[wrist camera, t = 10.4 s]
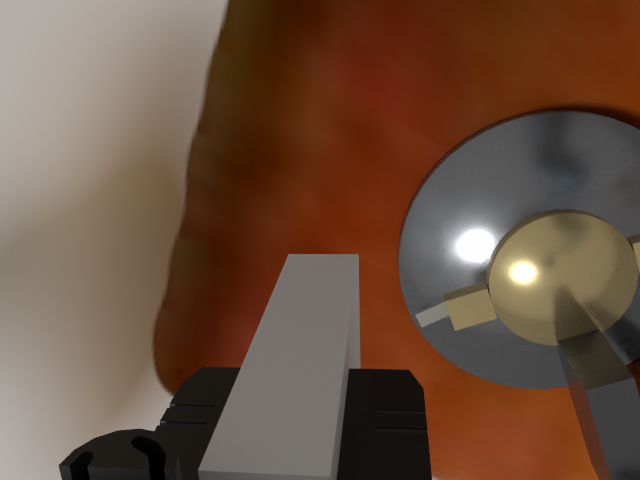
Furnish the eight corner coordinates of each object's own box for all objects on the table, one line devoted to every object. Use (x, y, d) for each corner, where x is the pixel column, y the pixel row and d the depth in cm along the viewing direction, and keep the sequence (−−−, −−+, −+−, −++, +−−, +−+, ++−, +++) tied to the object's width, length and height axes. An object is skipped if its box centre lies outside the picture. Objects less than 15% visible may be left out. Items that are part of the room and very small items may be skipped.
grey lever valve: (427, 249, 34) (440, 312, 27) (661, 173, 32) (749, 218, 24) (510, 482, 39) (541, 590, 32) (718, 433, 37) (806, 538, 29)
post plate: (633, 49, 33) (686, 54, 27) (749, 345, 38) (814, 400, 32) (347, 197, 37) (342, 228, 32) (487, 445, 42) (504, 509, 37)
